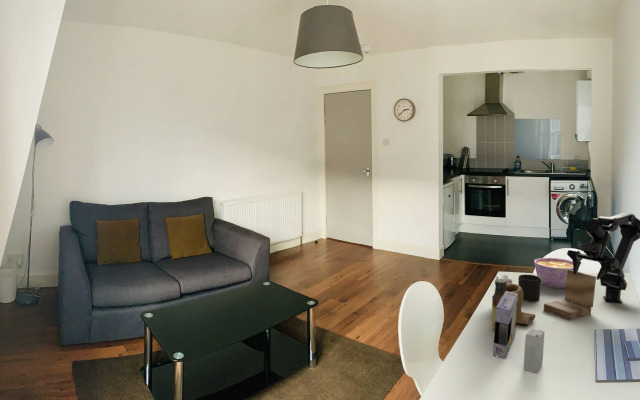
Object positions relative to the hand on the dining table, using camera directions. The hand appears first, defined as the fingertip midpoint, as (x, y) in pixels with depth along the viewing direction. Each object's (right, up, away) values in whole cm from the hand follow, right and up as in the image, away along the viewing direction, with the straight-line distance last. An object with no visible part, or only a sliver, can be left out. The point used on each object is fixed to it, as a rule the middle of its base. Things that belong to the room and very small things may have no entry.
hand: (585, 276), depth 185 cm
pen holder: (-14, -14, +20) cm, 28 cm away
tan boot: (-33, -17, -6) cm, 37 cm away
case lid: (0, -6, +4) cm, 7 cm away
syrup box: (-31, -15, +7) cm, 35 cm away
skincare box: (-42, -22, -43) cm, 64 cm away
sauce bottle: (-41, -18, -15) cm, 48 cm away
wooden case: (-6, -15, +2) cm, 17 cm away
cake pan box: (-45, -20, -28) cm, 57 cm away
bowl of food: (+7, -11, +37) cm, 39 cm away
